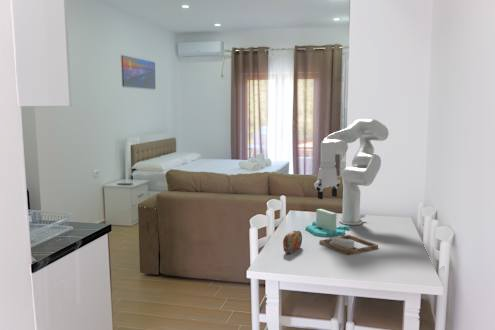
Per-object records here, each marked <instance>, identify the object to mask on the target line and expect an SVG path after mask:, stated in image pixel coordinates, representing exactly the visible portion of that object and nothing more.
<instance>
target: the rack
mask: <svg viewBox="0 0 495 330" xmlns="http://www.w3.org/2000/svg"><path fill="white" fill-rule="evenodd" d="M338 237H339V238H343V239H347V240H348V239H349V240H352V241H354V242H355V241H356V242H358V243H361V244H364V245H367V246H363V247H359V248H357V247H355V246H353V250H350V251H347V250H344V249H341V248H339V247H336V246H334V245H331V244H330V241H331V238H332V237H330V238H325V239H321V240H318V241H319V243H318V245H319V244H320V245H322V246H325V247H326V248H329V249H332V250H335V251H336V252H339V253H341V254H343V255H347V256H349V255H355V254H358V253H364V252H366V251H370V250H375V249H378V248H379V244H377V243H374V242H370V241H368V240H366V239H362V238H359V237H356V236H353V235H350V234H346V235H345V234H344V235H339V236H338Z"/></svg>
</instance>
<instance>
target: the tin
mask: <svg viewBox="0 0 495 330" xmlns="http://www.w3.org/2000/svg"><path fill="white" fill-rule="evenodd" d="M302 243H303V235H302V232H301V231H300V230H292V231H290V232H289V233H288V234H285V236H284V238H283V241H282V245H283V252H284V253H285V254H286V253H287V254H293V253H295V252H296V251H297V250H299V249H301V247H302Z"/></svg>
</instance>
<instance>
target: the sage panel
mask: <svg viewBox="0 0 495 330" xmlns="http://www.w3.org/2000/svg"><path fill="white" fill-rule="evenodd" d="M315 217H316V218H315V222H316V226H318V227H321V228H324V229H327V230H329V231H336V227H337V212H333V211H329V210H326V209H324V208H317V209H316V216H315Z"/></svg>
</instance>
